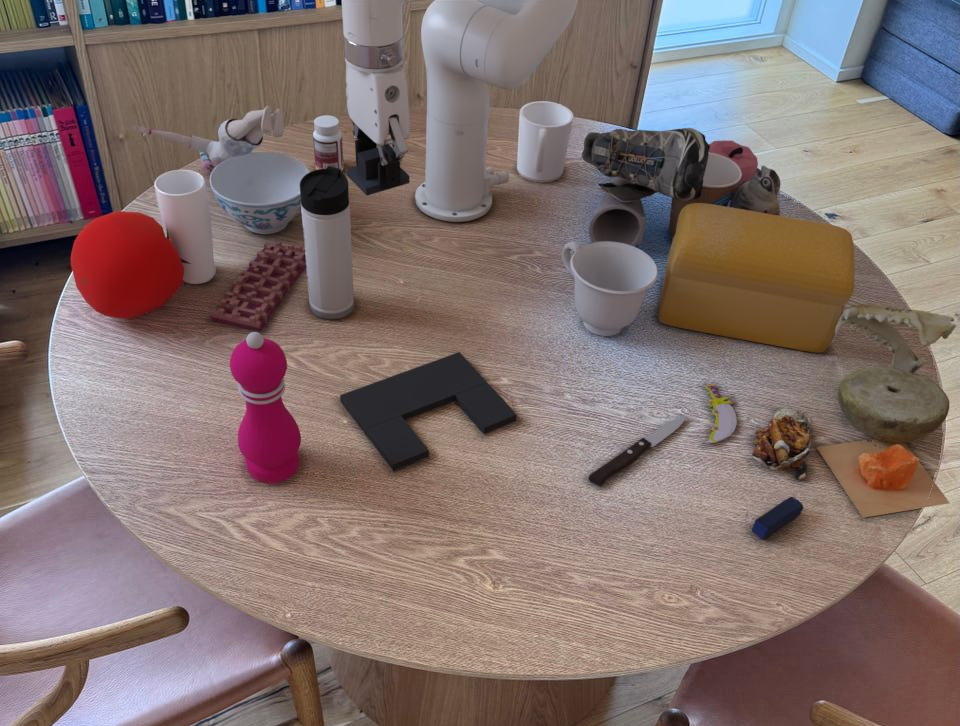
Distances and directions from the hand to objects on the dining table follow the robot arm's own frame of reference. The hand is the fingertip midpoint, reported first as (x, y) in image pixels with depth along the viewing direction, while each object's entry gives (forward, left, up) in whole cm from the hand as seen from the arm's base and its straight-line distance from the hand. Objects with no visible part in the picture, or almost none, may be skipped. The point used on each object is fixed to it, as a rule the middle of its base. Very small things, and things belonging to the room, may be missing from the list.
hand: (378, 174), depth 134 cm
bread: (-40, +39, -13) cm, 57 cm away
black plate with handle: (0, 0, -1) cm, 1 cm away
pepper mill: (+32, +33, -13) cm, 48 cm away
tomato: (+43, -4, -6) cm, 44 cm away
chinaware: (+12, -15, -13) cm, 23 cm away
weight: (-41, +64, -7) cm, 77 cm away
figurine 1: (+11, -10, +6) cm, 16 cm away
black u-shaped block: (+11, +34, -13) cm, 38 cm away
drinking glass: (+26, -7, -13) cm, 30 cm away
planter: (-40, +7, -13) cm, 42 cm away
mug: (-36, -8, -13) cm, 39 cm away
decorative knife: (-24, +55, -13) cm, 61 cm away
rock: (-31, +71, -16) cm, 79 cm away
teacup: (-20, +29, -13) cm, 37 cm away
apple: (-60, +12, -13) cm, 62 cm away
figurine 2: (-48, +26, -10) cm, 56 cm away
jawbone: (-50, +55, -6) cm, 74 cm away
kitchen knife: (-9, +54, -12) cm, 56 cm away
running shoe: (-42, +16, -1) cm, 45 cm away
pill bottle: (-4, -25, -13) cm, 29 cm away
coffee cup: (-46, +19, -13) cm, 52 cm away
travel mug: (+12, +9, -13) cm, 20 cm away
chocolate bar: (+19, 0, -13) cm, 23 cm away
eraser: (-18, +70, -11) cm, 73 cm away
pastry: (-26, +62, -15) cm, 69 cm away
